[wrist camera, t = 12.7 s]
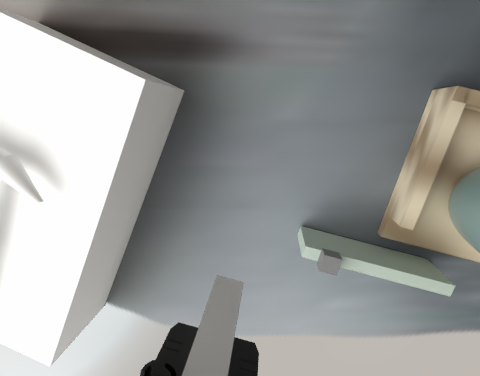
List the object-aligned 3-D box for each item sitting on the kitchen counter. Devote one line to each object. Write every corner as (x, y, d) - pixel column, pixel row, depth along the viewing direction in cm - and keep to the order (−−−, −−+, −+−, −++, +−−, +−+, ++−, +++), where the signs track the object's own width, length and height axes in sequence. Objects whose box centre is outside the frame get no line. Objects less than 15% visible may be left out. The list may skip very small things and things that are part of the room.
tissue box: (185, 90, 27) (128, 74, 16) (106, 304, 33) (28, 390, 23) (41, 23, 27) (-109, -36, 16) (-10, 250, 33) (-141, 311, 23)
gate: (301, 223, 28) (307, 250, 23) (427, 257, 27) (466, 292, 22) (297, 237, 28) (302, 266, 23) (421, 270, 28) (458, 308, 22)
